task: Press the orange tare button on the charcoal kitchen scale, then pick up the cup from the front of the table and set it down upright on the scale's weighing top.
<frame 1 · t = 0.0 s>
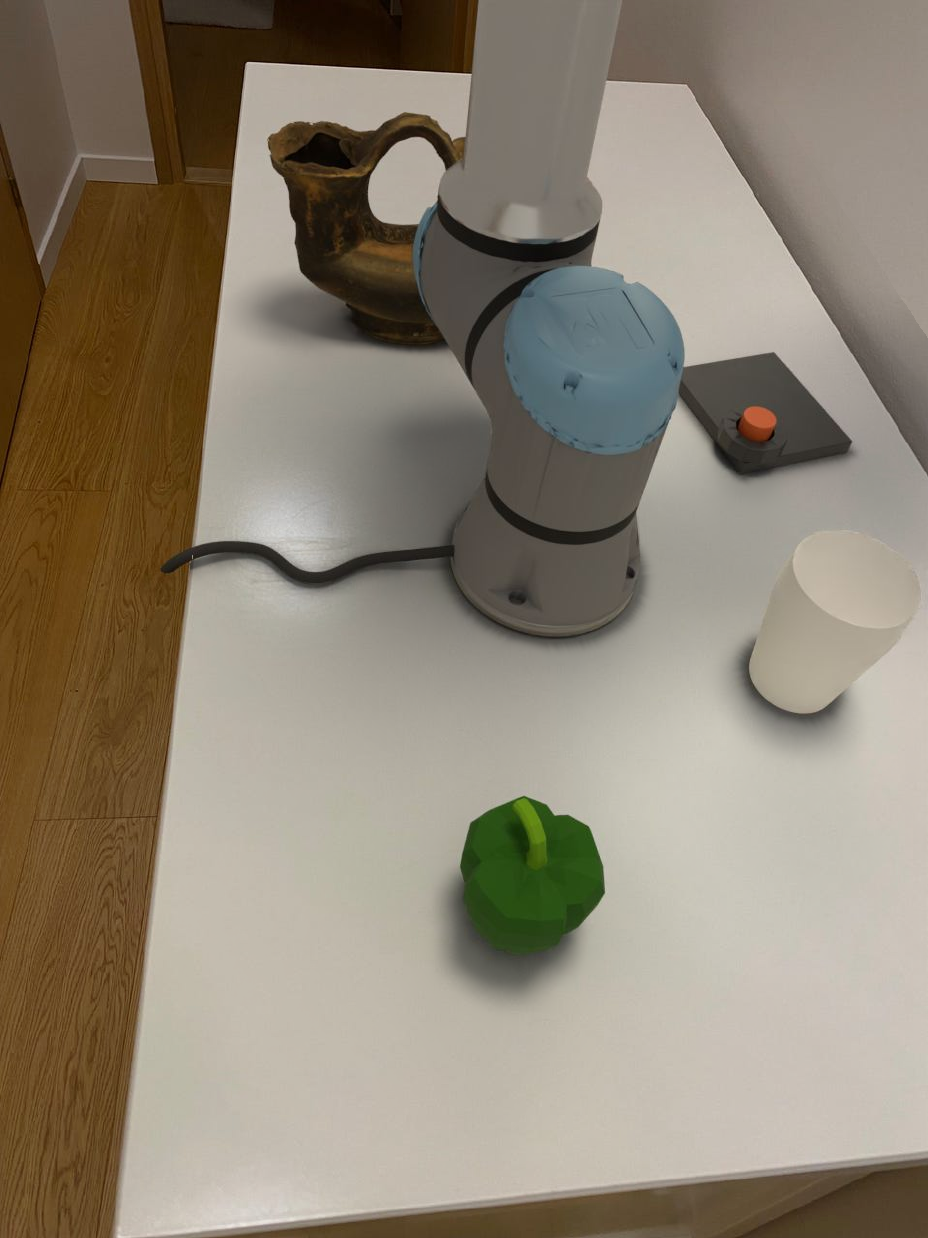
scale: (755, 415, 92), on the worktop
cup: (789, 679, 73), on the worktop
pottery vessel: (402, 319, 97), on the worktop
bell pepper: (518, 908, 60), on the worktop
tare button: (757, 424, 86), point 3 cm above the worktop, slide at 0.1 cm
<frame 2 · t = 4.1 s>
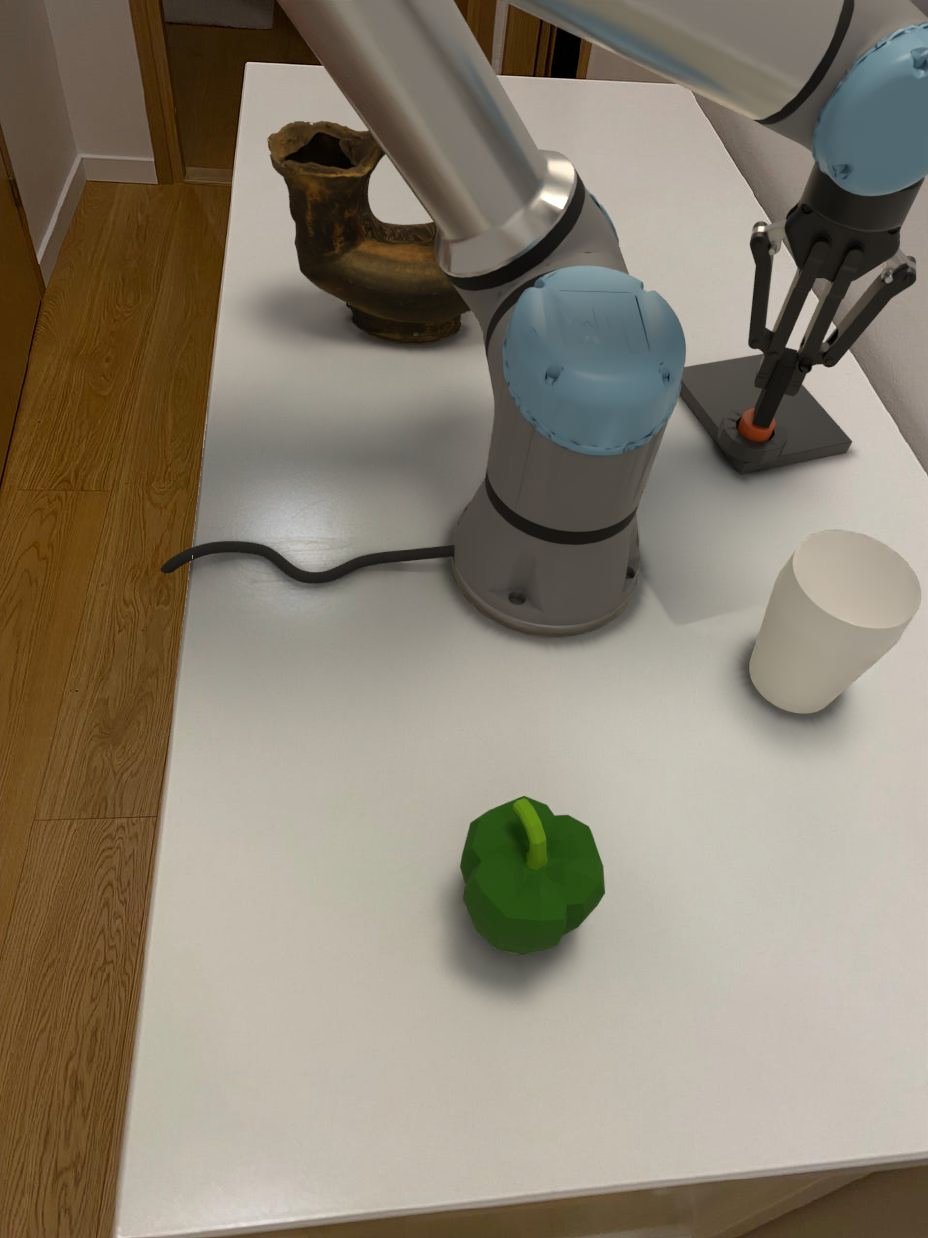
hand: (761, 416, 85), 4 cm above the worktop, tool pointing down, fingers closed
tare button: (756, 426, 86), point 3 cm above the worktop, slide at -0.2 cm, touching gripper
everything else where it was.
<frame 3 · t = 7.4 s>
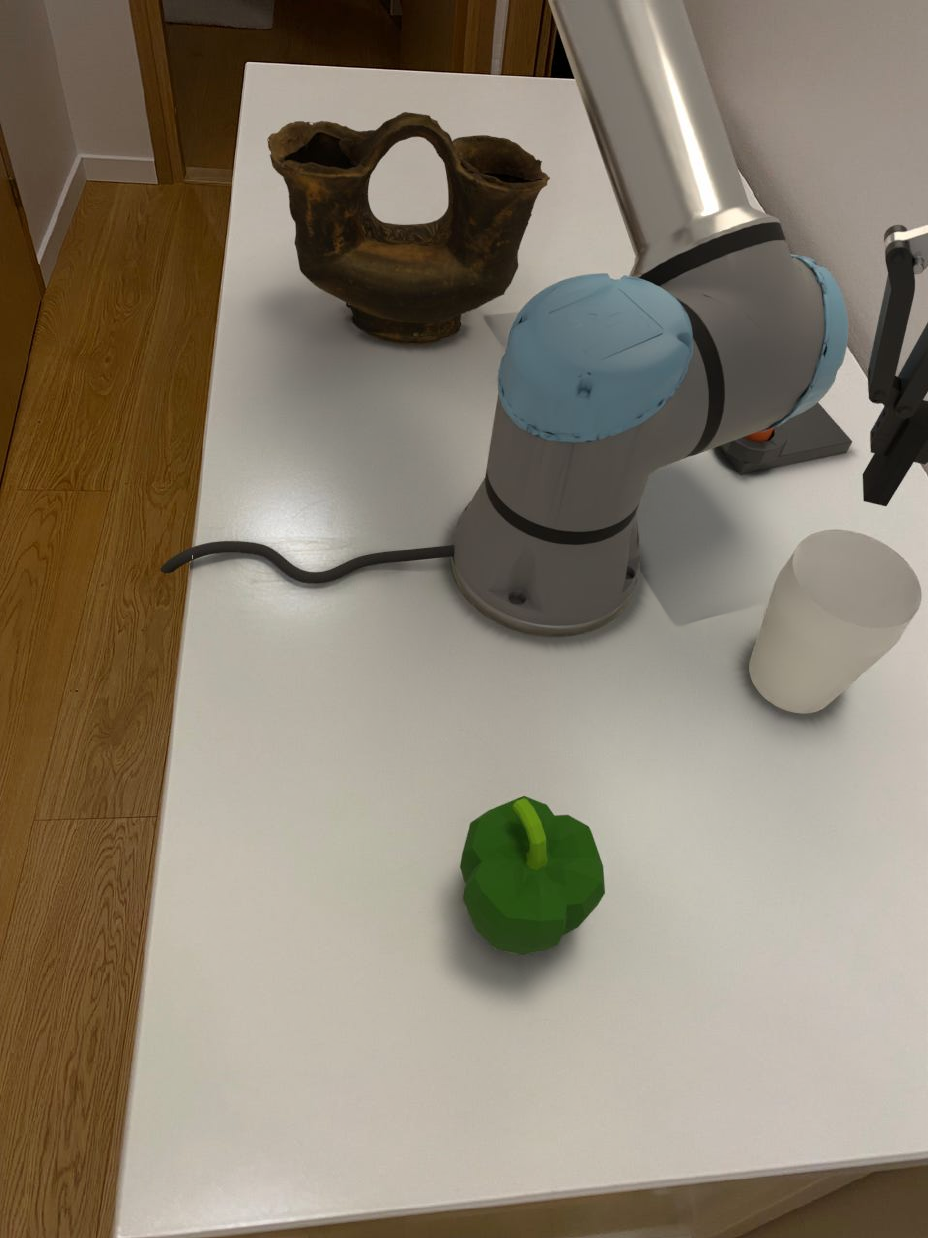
hand: (874, 489, 62), 16 cm above the worktop, tool pointing down, fingers closed
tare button: (757, 424, 86), point 3 cm above the worktop, slide at 0.1 cm
everything else where it was.
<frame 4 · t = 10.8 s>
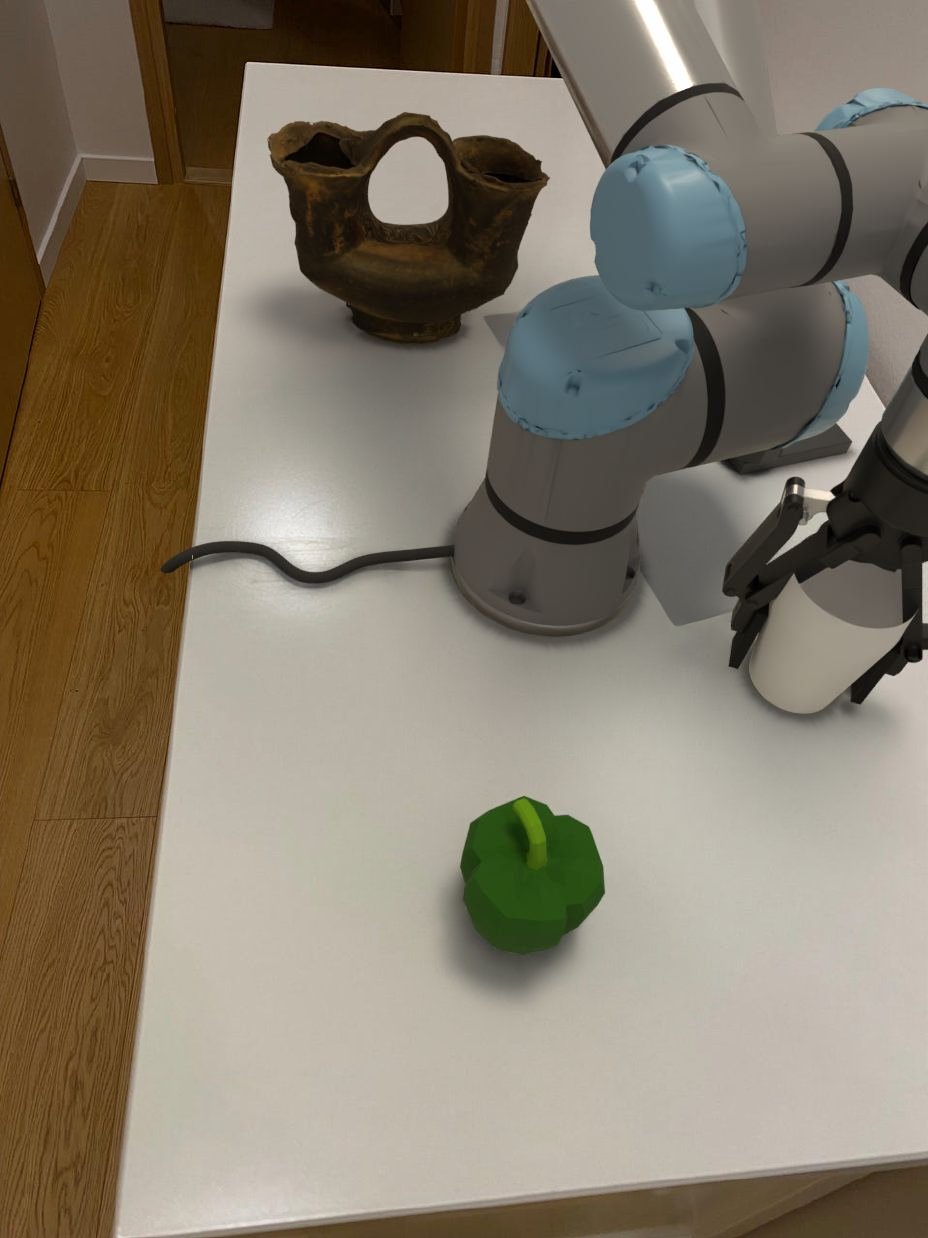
hand: (795, 671, 72), 1 cm above the worktop, tool pointing down, fingers closed on cup, 9 cm apart
cup: (789, 679, 73), on the worktop, touching gripper
everything else where it was.
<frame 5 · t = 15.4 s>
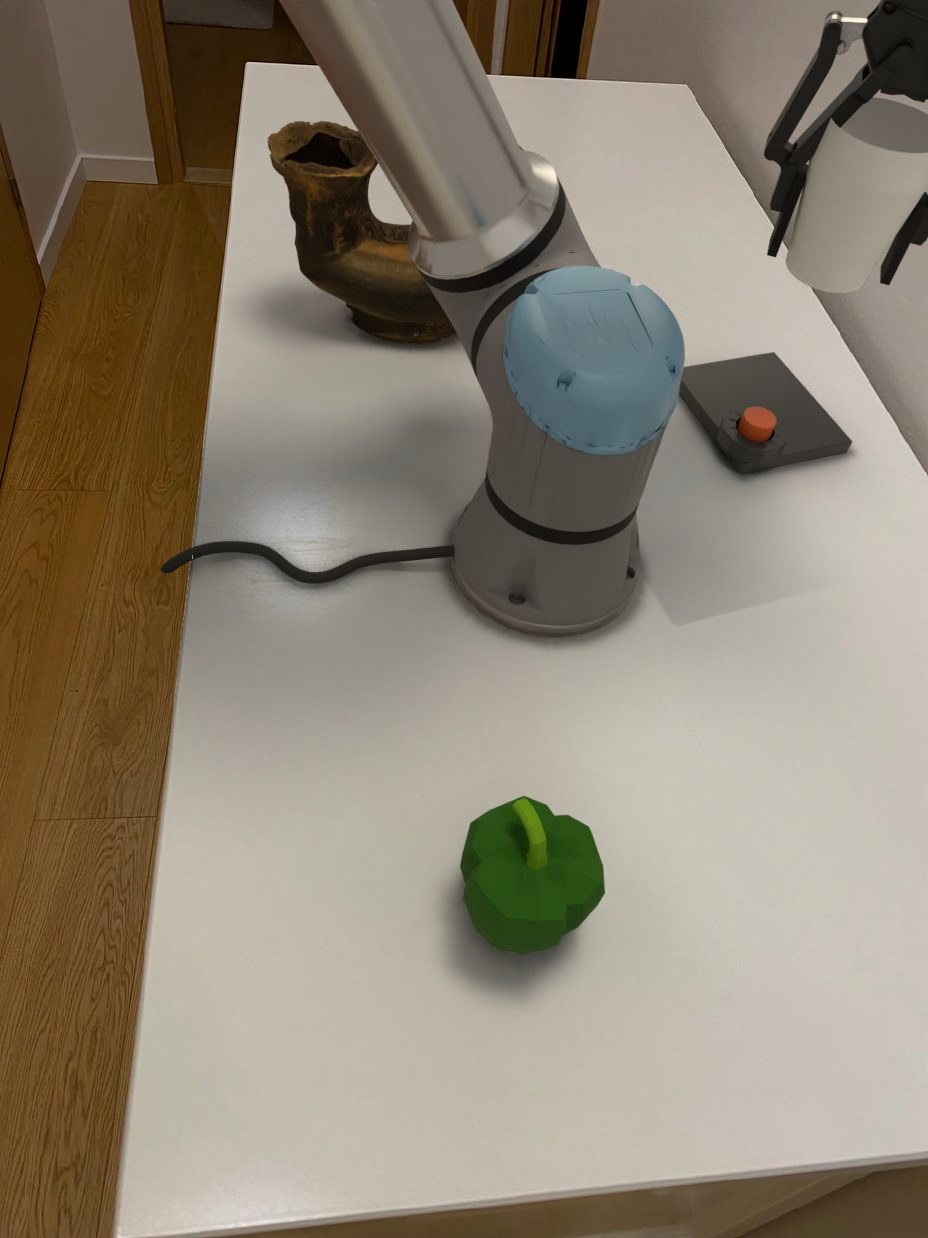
hand: (828, 261, 78), 17 cm above the worktop, tool pointing down, fingers closed on cup, 9 cm apart
cup: (823, 273, 79), point 16 cm above the worktop, touching gripper
everything else where it was.
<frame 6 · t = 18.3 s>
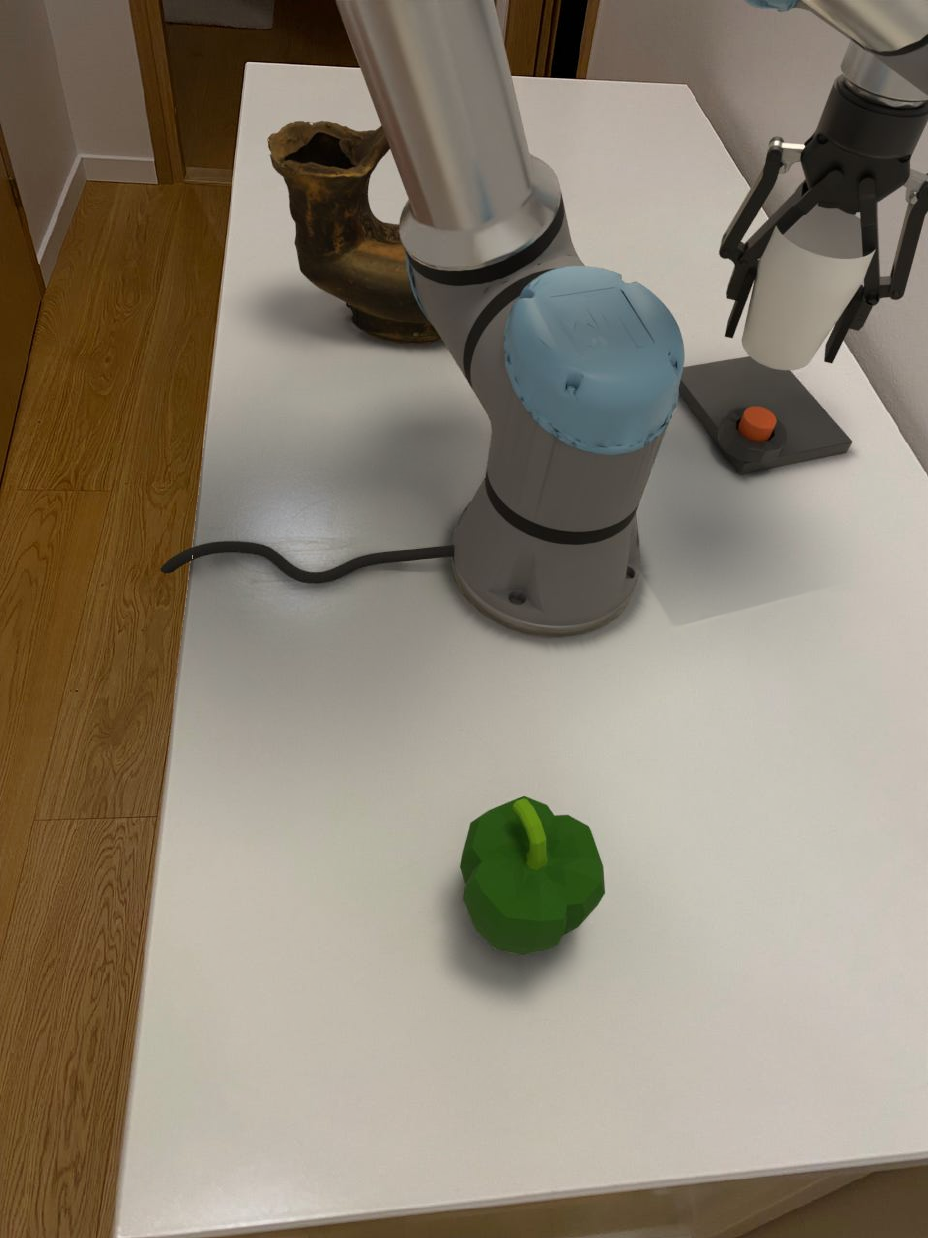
hand: (779, 341, 88), 7 cm above the worktop, tool pointing down, fingers closed on cup, 9 cm apart
cup: (775, 351, 89), point 6 cm above the worktop, touching gripper
everything else where it was.
when the fingers open (2 cm above the worktop, at t = 20.2 s): cup stays where it is, resting on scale.
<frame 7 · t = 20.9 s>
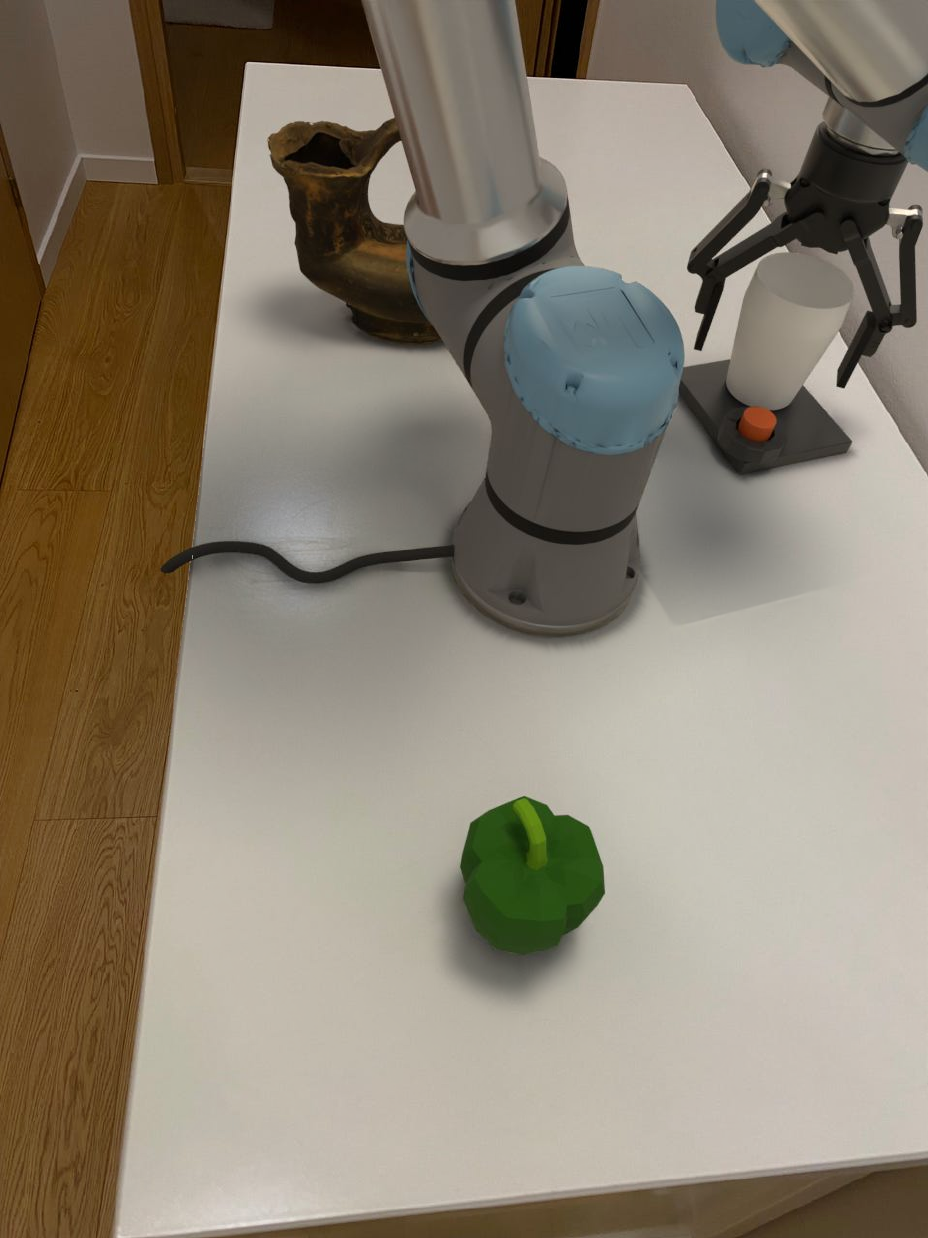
hand: (769, 360, 90), 5 cm above the worktop, tool pointing down, fingers open, 13 cm apart
cup: (758, 391, 93), point 1 cm above the worktop, touching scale
everything else where it was.
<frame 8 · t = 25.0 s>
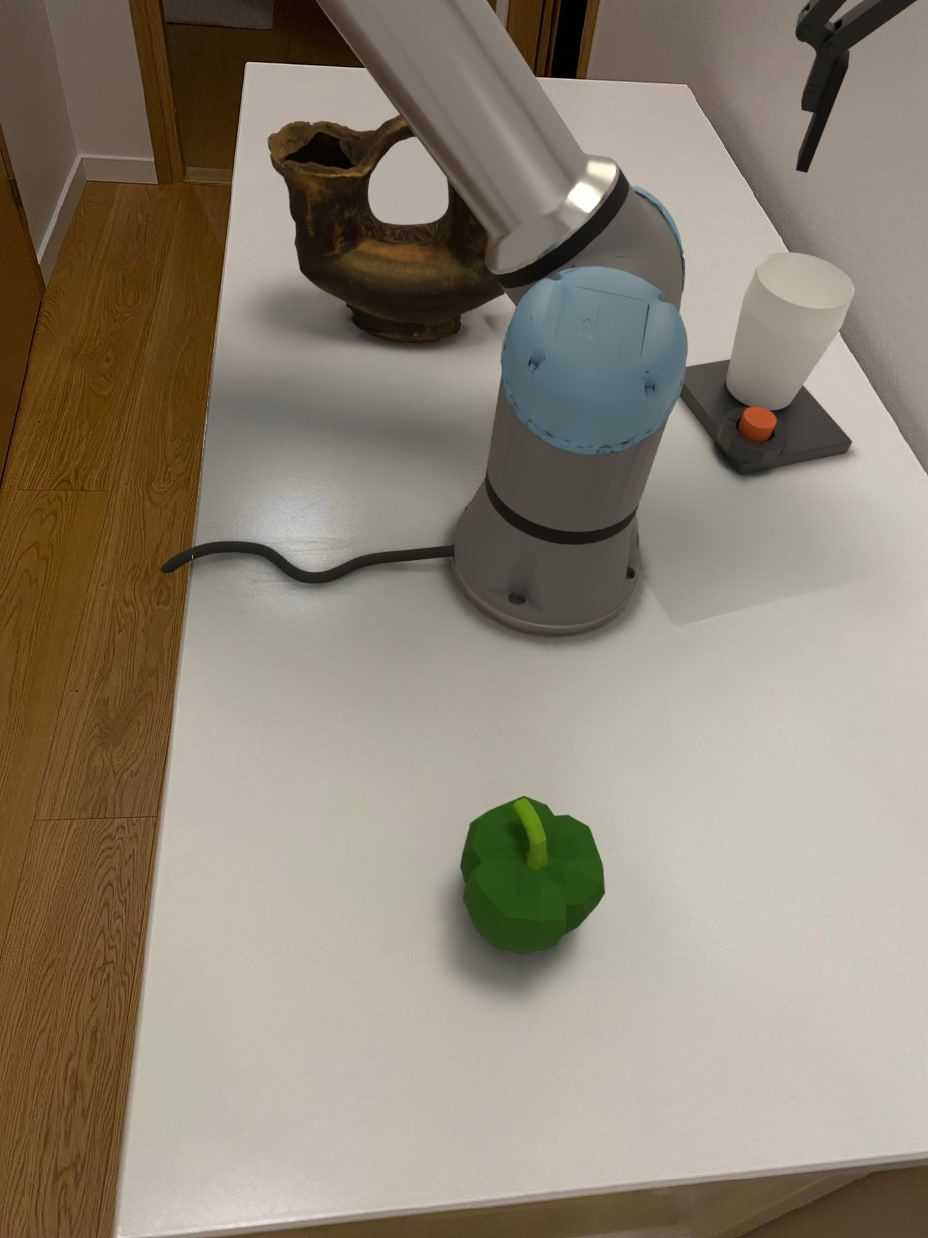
hand: (904, 187, 62), 29 cm above the worktop, tool pointing down, fingers open, 13 cm apart
nothing on the worktop moved.
at the end: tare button pushed in 0.8 cm at the most during the clip, back to where it started at the end; cup inside the target area on the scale (2.2 cm from its centre), point 1.2 cm above the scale's base; cup touching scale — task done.
